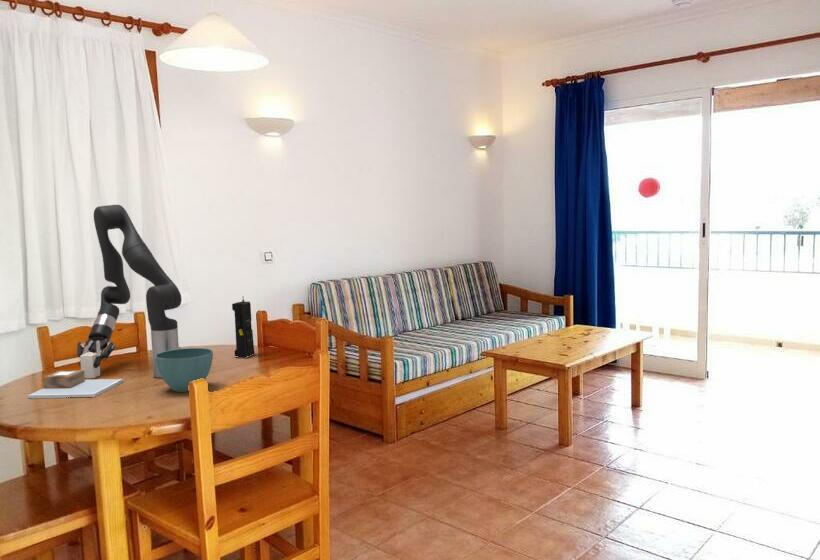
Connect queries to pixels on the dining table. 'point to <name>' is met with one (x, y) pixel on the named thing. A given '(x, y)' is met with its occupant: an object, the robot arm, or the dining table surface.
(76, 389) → the build board
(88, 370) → the block
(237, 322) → the portable radio
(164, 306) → the robot arm
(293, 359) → the dining table surface
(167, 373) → the teal bowl
